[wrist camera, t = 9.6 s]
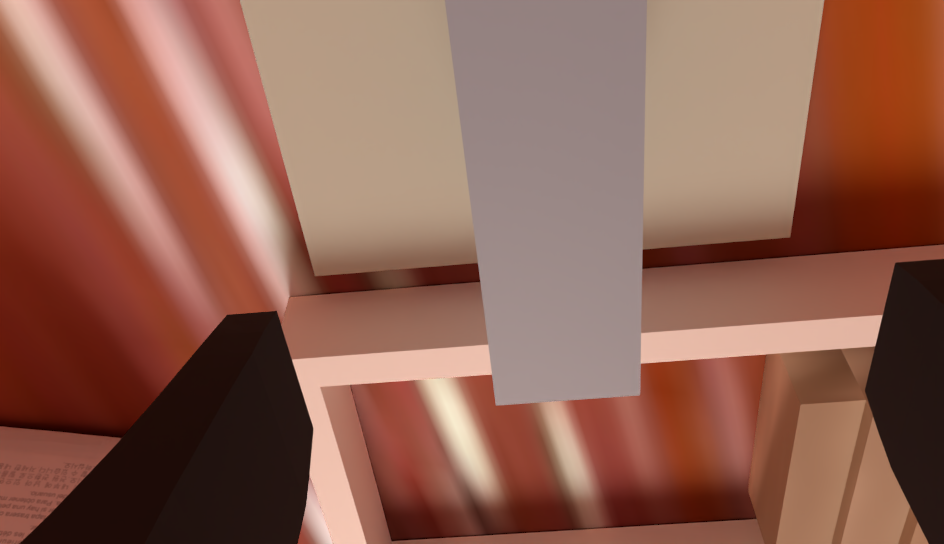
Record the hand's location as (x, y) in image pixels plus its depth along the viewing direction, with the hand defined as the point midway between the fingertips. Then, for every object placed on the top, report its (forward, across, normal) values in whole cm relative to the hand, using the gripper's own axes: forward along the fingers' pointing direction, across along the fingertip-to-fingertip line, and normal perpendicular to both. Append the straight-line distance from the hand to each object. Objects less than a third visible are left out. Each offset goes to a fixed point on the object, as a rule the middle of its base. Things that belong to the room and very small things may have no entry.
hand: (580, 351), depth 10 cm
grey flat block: (+10, 0, 0) cm, 10 cm away
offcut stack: (+10, -8, +13) cm, 19 cm away
